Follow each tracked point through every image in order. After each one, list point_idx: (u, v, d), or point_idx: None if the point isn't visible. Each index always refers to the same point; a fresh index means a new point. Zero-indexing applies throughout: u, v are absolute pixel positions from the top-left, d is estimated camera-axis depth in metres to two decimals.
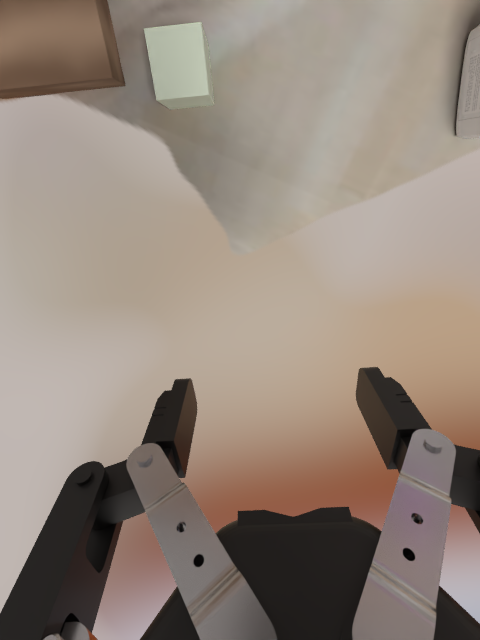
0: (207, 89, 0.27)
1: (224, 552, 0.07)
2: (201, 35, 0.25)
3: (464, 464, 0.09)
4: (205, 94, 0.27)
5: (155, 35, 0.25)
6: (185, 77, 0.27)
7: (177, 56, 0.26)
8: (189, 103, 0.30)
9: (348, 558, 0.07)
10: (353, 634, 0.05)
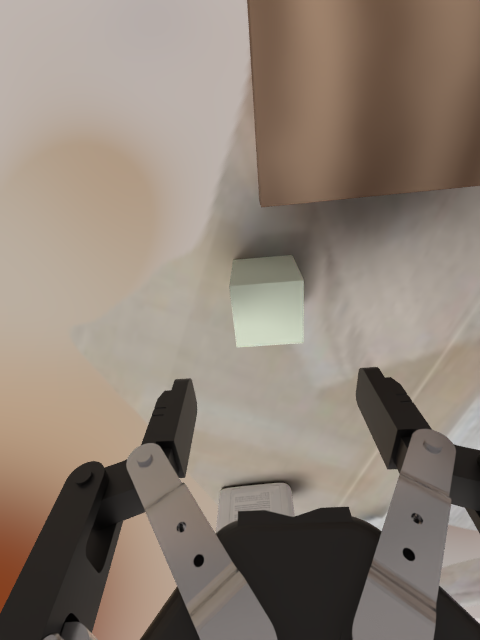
0: (242, 345, 0.22)
1: (224, 552, 0.07)
2: (291, 342, 0.22)
3: (464, 464, 0.09)
4: (237, 343, 0.22)
5: (296, 293, 0.20)
6: (253, 324, 0.21)
7: (274, 316, 0.21)
8: None
9: (348, 558, 0.07)
10: (353, 634, 0.05)
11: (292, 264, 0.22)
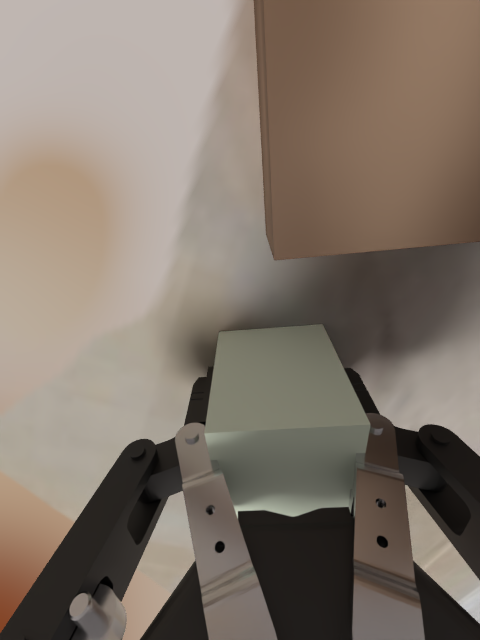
0: None
1: (245, 547, 0.07)
2: None
3: (403, 444, 0.10)
4: None
5: (349, 445, 0.09)
6: (257, 490, 0.10)
7: (299, 480, 0.10)
8: None
9: (348, 558, 0.07)
10: (353, 634, 0.05)
11: (330, 356, 0.12)
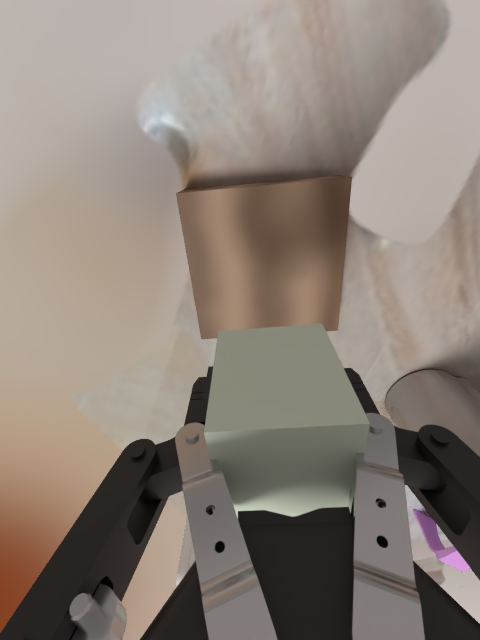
0: None
1: (245, 548, 0.07)
2: None
3: (403, 444, 0.10)
4: None
5: (349, 444, 0.09)
6: (257, 489, 0.10)
7: (298, 479, 0.10)
8: None
9: (348, 558, 0.07)
10: (353, 634, 0.05)
11: (329, 356, 0.12)
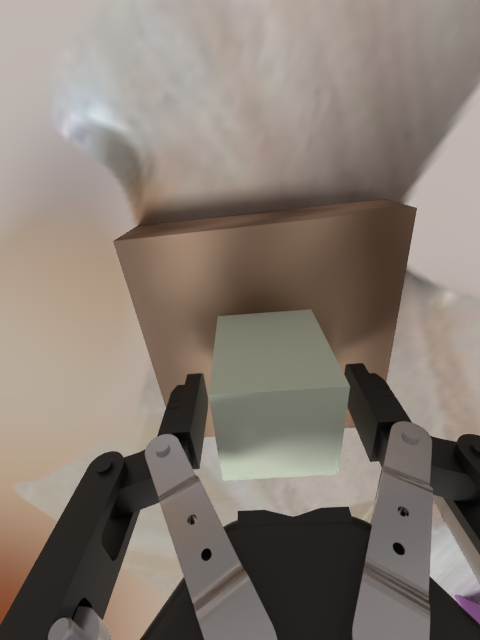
0: (232, 477, 0.13)
1: (232, 549, 0.07)
2: (318, 473, 0.13)
3: (440, 455, 0.09)
4: (223, 474, 0.13)
5: (332, 406, 0.11)
6: (253, 450, 0.12)
7: (290, 439, 0.11)
8: None
9: (348, 558, 0.07)
10: (353, 634, 0.05)
11: (317, 335, 0.13)
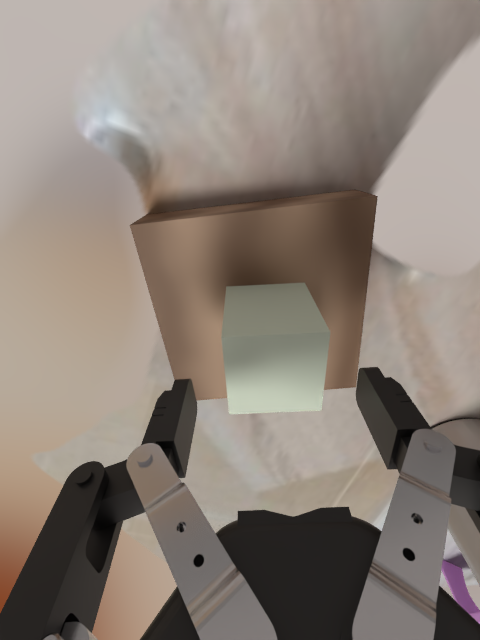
0: (236, 411, 0.16)
1: (224, 552, 0.07)
2: (305, 409, 0.16)
3: (464, 464, 0.09)
4: (229, 409, 0.16)
5: (317, 348, 0.14)
6: (254, 386, 0.15)
7: (283, 377, 0.15)
8: None
9: (348, 558, 0.07)
10: (353, 634, 0.05)
11: (308, 300, 0.16)
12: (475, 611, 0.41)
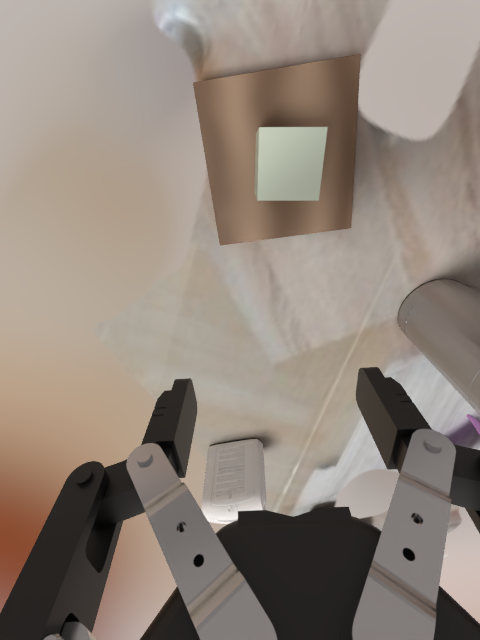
0: (262, 199, 0.24)
1: (224, 552, 0.07)
2: (308, 199, 0.24)
3: (464, 464, 0.09)
4: (258, 196, 0.23)
5: (318, 141, 0.22)
6: (276, 174, 0.23)
7: (295, 166, 0.22)
8: (256, 166, 0.25)
9: (348, 558, 0.07)
10: (353, 634, 0.05)
11: None
12: None
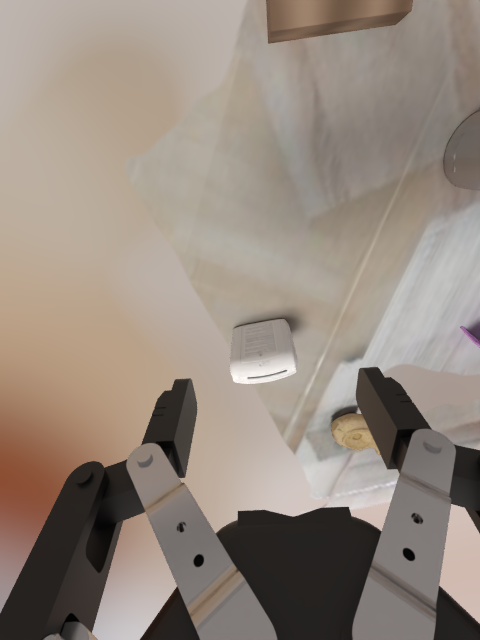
0: None
1: (224, 552, 0.07)
2: None
3: (464, 464, 0.09)
4: None
5: None
6: None
7: None
8: None
9: (348, 558, 0.07)
10: (353, 634, 0.05)
11: None
12: None
